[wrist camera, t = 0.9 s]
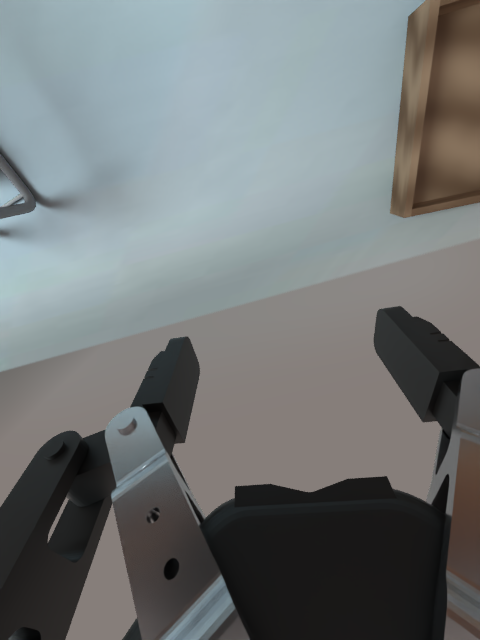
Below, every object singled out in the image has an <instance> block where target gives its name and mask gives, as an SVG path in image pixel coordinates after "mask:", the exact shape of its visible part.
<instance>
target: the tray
mask: <svg viewBox="0 0 480 640" xmlns="http://www.w3.org/2000/svg"><path fill="white" fill-rule="evenodd" d="M478 202H480V0H426V1H425V2H424V3H423V4H422V5H420V6H419V7H418V8H417V9H416V10H415V11H414V12H413V13H412V14H411V15H410V16H409V17H408V28H407V38H406V49H405V60H404V70H403V81H402V92H401V102H400V113H399V124H398V134H397V145H396V156H395V166H394V177H393V188H392V199H391V209H390V213H391V214H394V215H397V216H400V217H403V218H406V217H411V216H415V215H420V214H425V213H430V212H435V211H440V210H444V209H449V208H454V207H459V206H464V205H468V204H473V203H478Z"/></svg>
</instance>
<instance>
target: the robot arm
mask: <svg viewBox="0 0 480 640" xmlns="http://www.w3.org/2000/svg"><path fill="white" fill-rule="evenodd" d="M374 347H375V350H376V353H377V354H378V356H379V357H380V359H381V360H382V362H383V363H384V365H385V366H386V368H387V369H388V371H389V372H390V374H391V375H392V377H393V378H394V380H395V381H396V383H397V384H398V386H399V387H400V389H401V390H402V392H403V393H404V395H405V396H406V397H407V399H408V401H409V402H410V404H411V405H412V407H413V408H414V410H415V411H416V413H417V414H418V415H419V417H420V419H421V420H422V421H423V422H432V421H438V423H439V424H440V426H441V427H442V428H441V430H440V434H439V440H438V446H437V451H436V458H435V463H434V470H433V475H432V481H431V485H430V489H429V492H428V495H427V499H426V502H425V501H423V500H421V499H420V498H417V497H415V496H413V495H410V494H408V493H405V492H402V491H399V490H395V489H392V487H391V485H390V482H389V480H388V478H387V476H385V477H371V478H355V479H346V480H344V481H341V482H338V483H336V484H333V485H330V486H328V487H325V488H322V489H320V490H317V491H315V492H303V491H299V490H294V489H290V488H286V487H281V486H276V485H272V484H264V485H250V486H236V487H235V498H234V499H231V500H229V501H227V502H225V503H223V504H222V505H220V506H219V507H218V508H216V509H215V510H214V511H213V512H211V513H210V514H209V515H208V516H207V517H205V515H204V513H203V511H202V510H201V508H200V506H199V504H198V503H197V501H196V499H195V497H194V495H193V493H192V491H191V489H190V487H189V485H188V483H187V481H186V479H185V477H184V475H183V473H182V471H181V469H180V467H179V465H178V463H177V461H176V460H175V458H174V455H173V454H172V451H173V447H174V444H176V443H185V439H186V435H187V430H188V425H189V421H190V416H191V412H192V407H193V402H194V398H195V394H196V389H197V384H198V380H199V374H200V368H199V362H198V360H197V357H196V354H195V352H194V349H193V347H192V344H191V341H190V339H189V338H188V337H180V338H173V339H170V341H169V343H168V345H167V347H166V350H165V351H161V352H160V353H159V354H158V355H157V356H156V357H155V358H154V359H153V360H152V362H151V364H150V366H149V369H148V371H147V373H146V375H145V379H143V381H142V383H141V386H140V388H139V390H138V392H137V394H136V396H135V398H134V400H133V403H132V405H131V407H130V408H128V409H125V410H123V411H122V412H120V413H119V414H117V415H116V416H115V417H114V418H113V419H112V420H111V421H110V423H109V424H108V426H107V428H106V430H103V431H100V432H98V433H95V434H93V435H90V436H88V437H85V438H82V437H81V436H80V435H79V434H78V433H77V432H75V431H66V432H63V433H60V434H58V435H56V436H55V437H53V438H52V439H50V440H49V441H48V442H47V443H46V444H44V445H43V446H42V447H41V448H40V449H39V451H38V452H37V453H36V455H35V456H34V458H33V459H32V461H31V463H30V464H29V465H28V467H27V468H26V470H25V471H24V473H23V474H22V476H21V478H20V479H19V480H18V482H17V483H16V485H15V486H14V488H13V489H12V491H11V492H10V494H9V495H8V497H7V498H6V500H5V501H4V503H3V504H2V506H1V507H0V640H65V638H66V636H67V633H68V630H69V627H70V624H71V621H72V618H73V615H74V613H75V610H76V607H77V604H78V601H79V598H80V595H81V592H82V589H83V587H84V583H85V580H86V578H87V575H88V572H89V569H90V566H91V563H92V560H93V557H94V554H95V552H96V549H97V546H98V543H99V540H100V537H101V534H102V531H103V528H104V526H105V522H106V520H107V517H108V514H109V511H110V508H111V505H112V504H113V508H114V513H115V517H116V522H117V527H118V531H119V536H120V541H121V545H122V550H123V554H124V559H125V564H126V568H127V573H128V577H129V582H130V586H131V591H132V595H133V600H134V605H135V609H136V614H137V619H136V620H135V622H134V623H133V625H132V626H131V628H130V629H129V630H128V632H127V633H126V635H125V637H124V638H123V639H122V640H480V366H479V365H478V364H477V363H475V362H474V361H473V360H472V359H471V358H470V357H469V356H468V355H467V354H465V353H464V352H463V351H462V350H461V349H460V348H459V347H458V346H456V345H455V344H454V343H453V342H452V341H449V339H448V338H447V337H446V336H445V335H444V334H441V332H440V331H439V330H438V329H437V328H436V327H435V326H434V325H433V324H432V323H430V322H427V321H426V320H423V319H421V318H419V317H412V316H411V315H410V314H409V313H408V312H407V311H406V310H404V308H402V307H401V306H398V307H391V308H384V309H379V310H378V312H377V317H376V325H375V333H374ZM66 497H67V498H68V499H69V500H68V503H67V505H66V507H65V509H64V511H63V513H62V515H61V517H60V519H59V521H58V524H57V526H56V528H55V530H54V532H53V534H52V536H51V538H50V540H49V542H48V543H47V540H48V534H49V531H50V528H51V526H52V524H53V522H54V520H55V518H56V516H57V514H58V512H59V510H60V507H61V506H62V504H63V502H64V500H65V498H66Z"/></svg>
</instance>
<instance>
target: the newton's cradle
mask: <svg viewBox="0 0 480 640" xmlns="http://www.w3.org/2000/svg"><path fill="white" fill-rule="evenodd" d="M0 169H1V170H2V171H3V172H4V174H5V175H6V176H7V177H8V179H9V180H10V181H11V182H12V183H13V185H14V186H15V187H16V188H17V190H18V191H19V192H20V193H21V194H19V195H18V196H16V197H15V198H13V199H12V200H10V201H8V202H7V203H5V204H4V205H2V206H1V207H0V219H2V218H6V217H11V216H15V215H20V214H25V213H29V212H31V211H33V210H34V209H35V207H36V201H35V198H34V196H33V194H32V193H31V192H30V190H29V189H28V188H27V186H26V185H25V184H24V183H23V181H22V180H21V179H20V178H19V176H18V175H17V174H16V173H15V171H14V170H13V169H12V168H11V166H10V165H9V164H8V162H7V161H6V160H5V159H4V157H3V156H2V155H1V154H0ZM22 197H24V200H25V203H22V204H16V205H11V204H13V203H14V202H16V201H17V200H19V199H20V198H22ZM10 205H11V206H10Z"/></svg>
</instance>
